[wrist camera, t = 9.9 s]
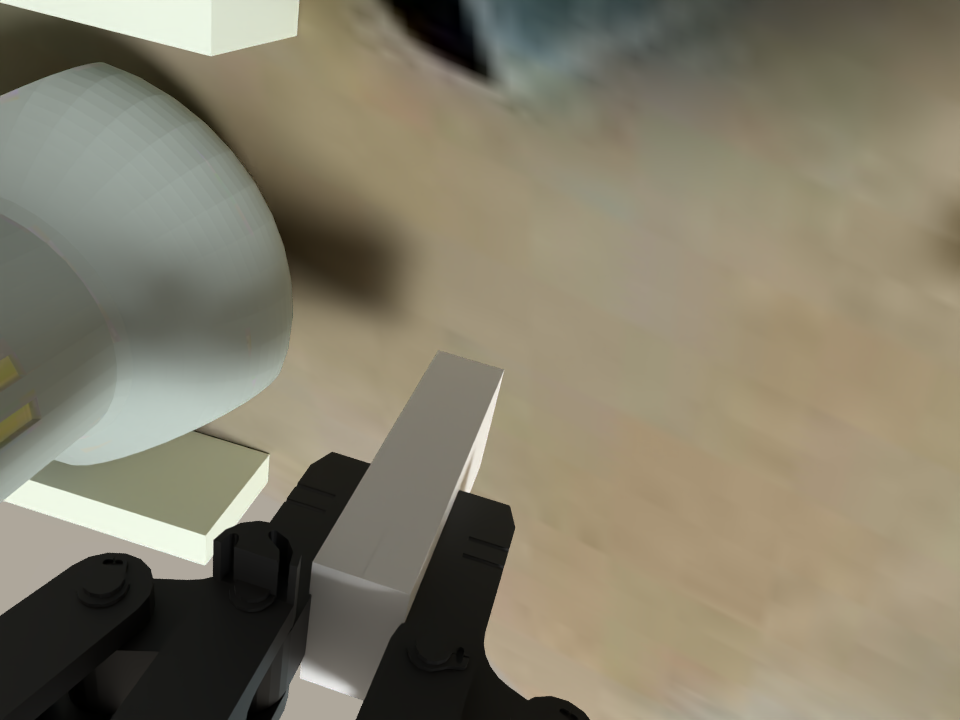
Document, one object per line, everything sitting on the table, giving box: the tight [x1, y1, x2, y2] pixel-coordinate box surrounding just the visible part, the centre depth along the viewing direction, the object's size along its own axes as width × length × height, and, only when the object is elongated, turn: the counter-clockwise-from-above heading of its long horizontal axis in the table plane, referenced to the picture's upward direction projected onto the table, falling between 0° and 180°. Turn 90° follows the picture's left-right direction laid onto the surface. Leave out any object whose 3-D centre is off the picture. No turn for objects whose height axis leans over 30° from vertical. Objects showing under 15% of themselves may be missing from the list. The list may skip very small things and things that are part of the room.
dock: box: [0, 0, 299, 565], centre depth 20 cm, size 15×12×4 cm
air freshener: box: [0, 62, 293, 503], centre depth 18 cm, size 11×8×10 cm
